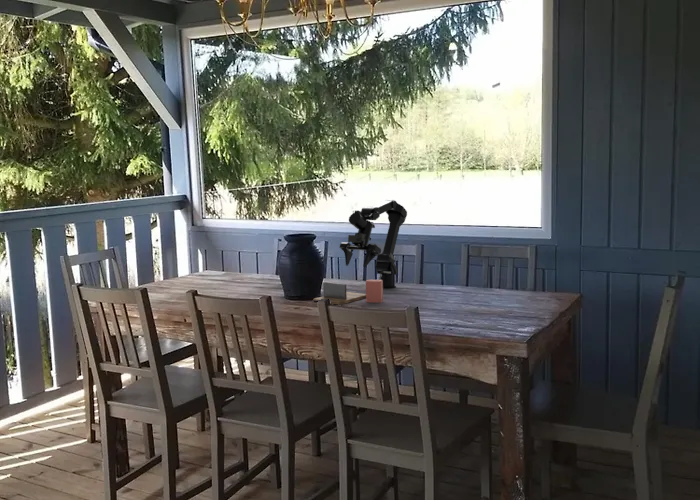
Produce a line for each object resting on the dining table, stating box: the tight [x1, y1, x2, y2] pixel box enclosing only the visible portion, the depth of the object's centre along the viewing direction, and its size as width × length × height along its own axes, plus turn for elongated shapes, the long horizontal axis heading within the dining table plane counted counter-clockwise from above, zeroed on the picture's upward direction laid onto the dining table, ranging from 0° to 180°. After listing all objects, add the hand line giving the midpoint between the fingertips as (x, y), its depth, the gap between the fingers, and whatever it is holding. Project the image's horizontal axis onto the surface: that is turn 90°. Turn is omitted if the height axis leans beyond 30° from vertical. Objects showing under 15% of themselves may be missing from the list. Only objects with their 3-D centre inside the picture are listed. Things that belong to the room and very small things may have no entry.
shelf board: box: [312, 291, 366, 306], centre depth 303 cm, size 20×14×1 cm
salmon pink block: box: [365, 279, 384, 304], centre depth 297 cm, size 4×6×9 cm, turn 78°
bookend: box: [322, 281, 347, 300], centre depth 300 cm, size 1×12×6 cm, turn 52°
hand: (355, 266), depth 307 cm, fingers open, 9 cm apart
